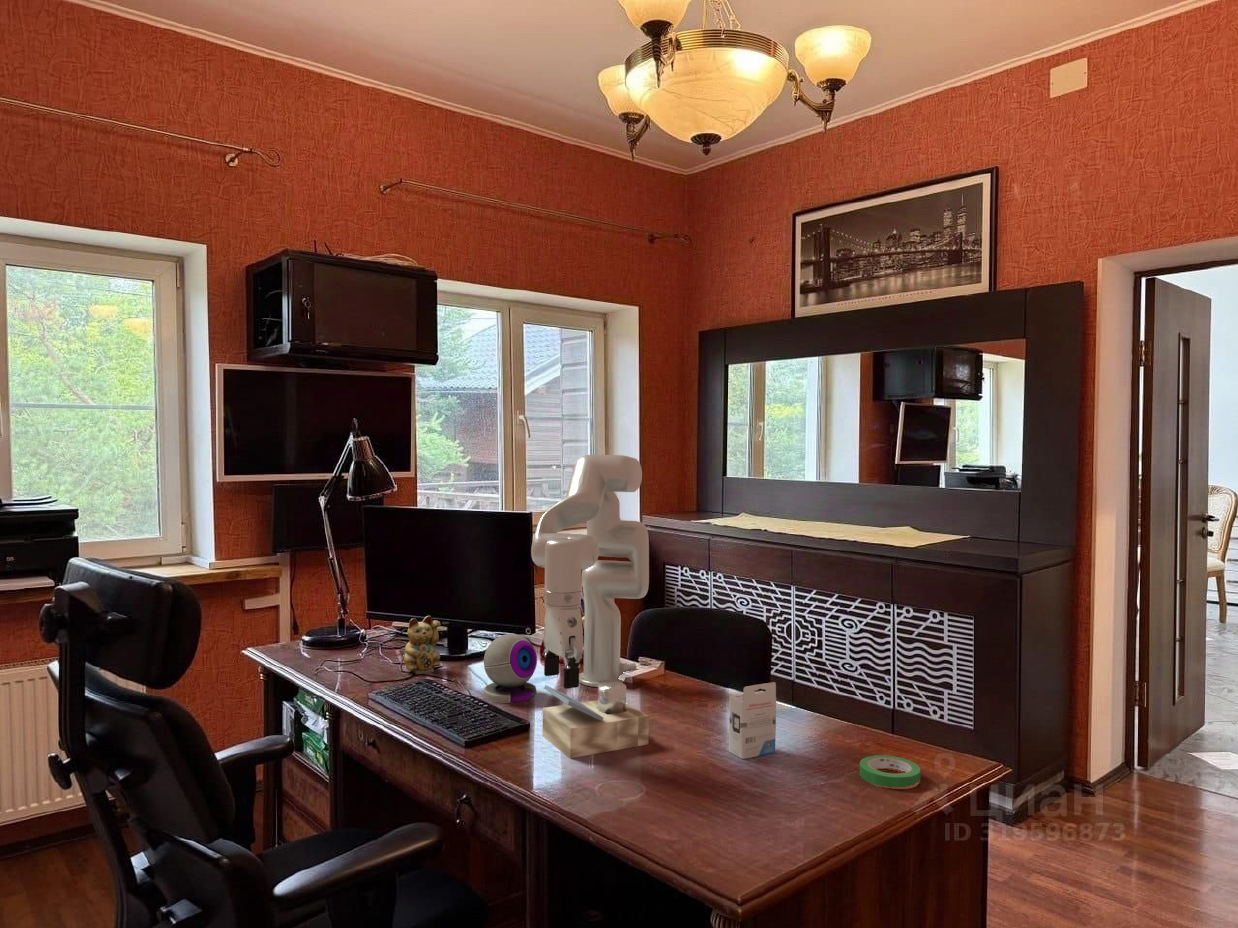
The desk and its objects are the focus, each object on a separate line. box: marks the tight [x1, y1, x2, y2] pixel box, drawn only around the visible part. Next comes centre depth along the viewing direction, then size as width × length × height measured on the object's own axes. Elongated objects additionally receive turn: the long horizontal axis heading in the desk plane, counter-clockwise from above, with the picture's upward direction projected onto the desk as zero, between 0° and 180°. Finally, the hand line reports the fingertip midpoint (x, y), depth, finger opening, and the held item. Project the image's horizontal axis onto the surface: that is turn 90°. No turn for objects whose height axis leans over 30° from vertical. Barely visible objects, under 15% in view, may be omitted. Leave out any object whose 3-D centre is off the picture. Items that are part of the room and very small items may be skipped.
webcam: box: [482, 633, 538, 704], centre depth 210 cm, size 13×13×15 cm
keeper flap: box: [543, 684, 603, 721], centre depth 178 cm, size 9×12×1 cm
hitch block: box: [541, 699, 650, 759], centre depth 180 cm, size 18×14×6 cm
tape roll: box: [859, 754, 921, 787], centre depth 163 cm, size 11×11×3 cm
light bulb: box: [597, 682, 627, 714], centre depth 182 cm, size 6×6×10 cm
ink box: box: [728, 681, 777, 760], centre depth 175 cm, size 9×5×15 cm, turn 117°
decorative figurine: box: [403, 615, 441, 675], centre depth 230 cm, size 10×8×15 cm
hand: (561, 681), depth 176 cm, fingers open, 9 cm apart
